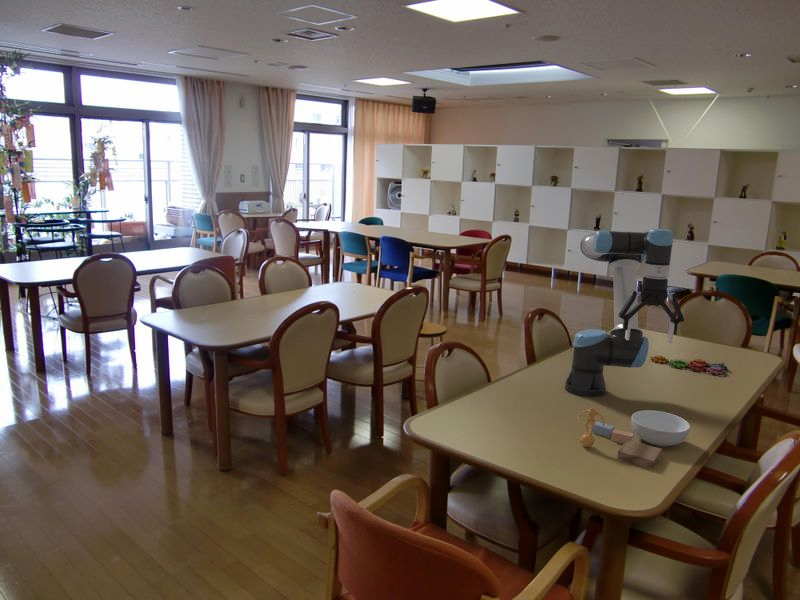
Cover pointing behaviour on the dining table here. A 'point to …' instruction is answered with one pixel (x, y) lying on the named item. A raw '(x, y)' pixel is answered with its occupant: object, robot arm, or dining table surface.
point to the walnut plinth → (639, 454)
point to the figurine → (588, 439)
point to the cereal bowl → (659, 427)
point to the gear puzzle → (694, 365)
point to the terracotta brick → (621, 436)
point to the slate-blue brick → (603, 429)
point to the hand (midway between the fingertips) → (648, 340)
